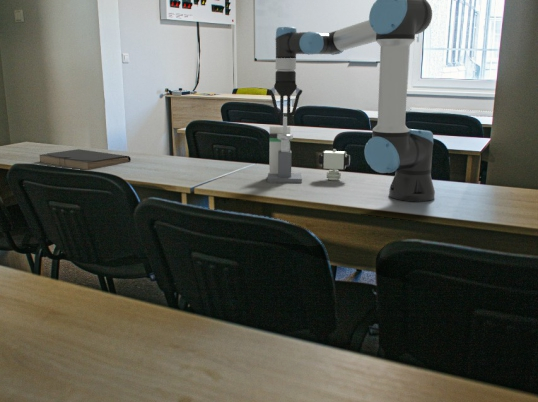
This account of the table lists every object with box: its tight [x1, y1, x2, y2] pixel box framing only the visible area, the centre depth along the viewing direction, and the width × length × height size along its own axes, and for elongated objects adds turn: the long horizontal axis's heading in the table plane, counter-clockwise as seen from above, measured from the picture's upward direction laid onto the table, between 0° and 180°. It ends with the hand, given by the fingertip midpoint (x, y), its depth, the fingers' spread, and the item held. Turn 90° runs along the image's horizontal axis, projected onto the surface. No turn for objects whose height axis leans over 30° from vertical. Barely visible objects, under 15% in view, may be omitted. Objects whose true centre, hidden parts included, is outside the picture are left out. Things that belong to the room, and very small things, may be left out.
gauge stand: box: [266, 125, 303, 184], centre depth 221 cm, size 13×11×20 cm
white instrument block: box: [268, 132, 294, 152], centre depth 221 cm, size 9×6×11 cm
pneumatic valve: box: [317, 148, 351, 182], centre depth 223 cm, size 6×12×12 cm, turn 78°
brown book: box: [38, 148, 132, 171], centre depth 259 cm, size 33×4×24 cm
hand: (284, 134), depth 219 cm, fingers closed
